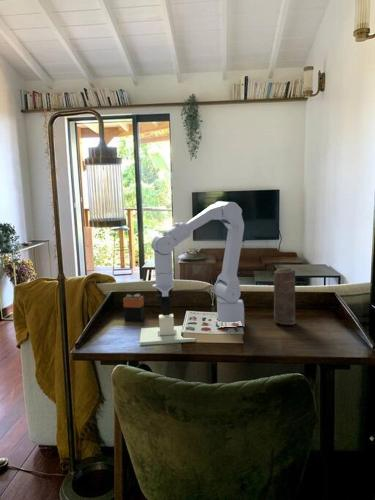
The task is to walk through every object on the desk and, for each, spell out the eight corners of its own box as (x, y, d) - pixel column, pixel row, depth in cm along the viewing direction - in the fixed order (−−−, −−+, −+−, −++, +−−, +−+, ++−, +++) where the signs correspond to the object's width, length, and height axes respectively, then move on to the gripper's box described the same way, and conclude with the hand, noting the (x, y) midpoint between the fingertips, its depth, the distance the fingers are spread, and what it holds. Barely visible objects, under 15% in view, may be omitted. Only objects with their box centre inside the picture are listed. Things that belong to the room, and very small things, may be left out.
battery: (141, 322, 145) (139, 296, 143) (124, 321, 147) (122, 296, 145) (145, 318, 149) (143, 293, 148) (128, 317, 151) (126, 292, 149)
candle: (286, 329, 133) (286, 272, 129) (269, 323, 139) (269, 269, 135) (299, 323, 138) (300, 268, 134) (282, 318, 143) (282, 265, 140)
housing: (173, 330, 133) (173, 313, 132) (174, 334, 130) (173, 317, 128) (159, 331, 133) (159, 314, 132) (159, 335, 129) (159, 318, 128)
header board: (192, 327, 138) (191, 318, 137) (195, 341, 126) (194, 330, 125) (141, 331, 137) (140, 321, 136) (139, 345, 125) (139, 334, 124)
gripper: (151, 267, 134) (154, 304, 136) (151, 277, 120) (153, 319, 122) (172, 266, 135) (174, 303, 137) (174, 276, 120) (176, 317, 123)
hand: (165, 311), depth 130 cm, fingers open, 7 cm apart
